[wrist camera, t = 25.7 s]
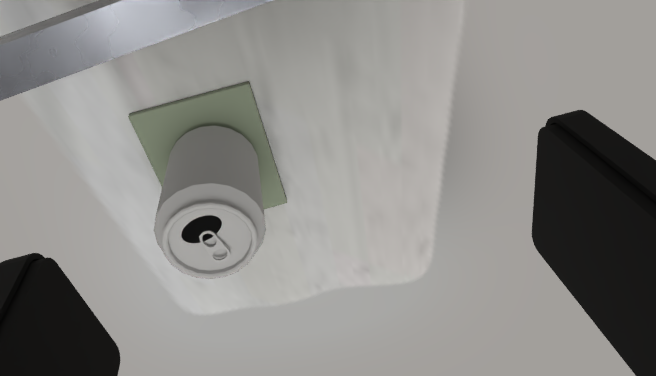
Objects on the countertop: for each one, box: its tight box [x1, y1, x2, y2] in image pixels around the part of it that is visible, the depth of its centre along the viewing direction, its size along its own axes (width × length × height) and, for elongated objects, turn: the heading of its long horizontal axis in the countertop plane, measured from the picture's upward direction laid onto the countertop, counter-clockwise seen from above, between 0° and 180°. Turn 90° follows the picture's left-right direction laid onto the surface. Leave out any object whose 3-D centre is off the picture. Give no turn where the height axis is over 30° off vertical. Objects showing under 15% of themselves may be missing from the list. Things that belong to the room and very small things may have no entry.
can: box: [154, 126, 266, 279], centre depth 37 cm, size 8×8×12 cm
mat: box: [128, 81, 287, 209], centre depth 42 cm, size 12×10×1 cm
